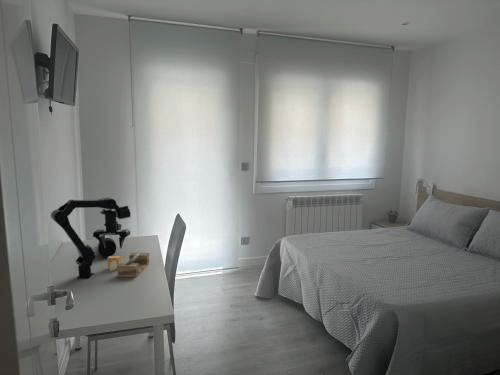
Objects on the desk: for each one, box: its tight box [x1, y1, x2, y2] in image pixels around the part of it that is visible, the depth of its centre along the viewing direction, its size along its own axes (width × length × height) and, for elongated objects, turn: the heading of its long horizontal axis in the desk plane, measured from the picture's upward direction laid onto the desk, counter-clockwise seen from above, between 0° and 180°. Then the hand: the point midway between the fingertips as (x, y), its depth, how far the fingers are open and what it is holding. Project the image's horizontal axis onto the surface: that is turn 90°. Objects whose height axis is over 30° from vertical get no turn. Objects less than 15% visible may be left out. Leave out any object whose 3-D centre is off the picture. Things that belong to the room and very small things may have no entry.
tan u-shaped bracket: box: [106, 255, 122, 270], centre depth 195 cm, size 6×3×6 cm, turn 87°
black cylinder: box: [97, 235, 117, 258], centre depth 227 cm, size 10×34×10 cm, turn 22°
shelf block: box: [116, 252, 150, 278], centre depth 192 cm, size 20×10×7 cm, turn 177°
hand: (112, 248), depth 194 cm, fingers open, 9 cm apart
